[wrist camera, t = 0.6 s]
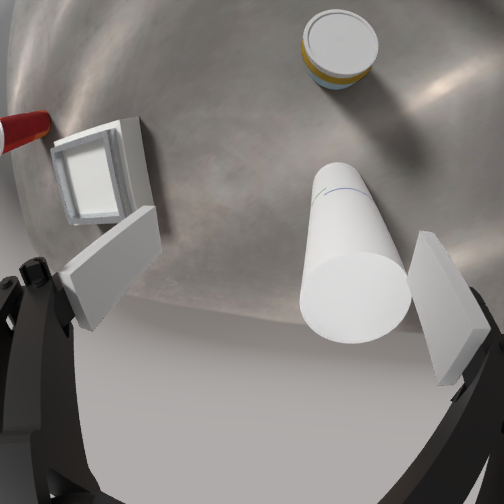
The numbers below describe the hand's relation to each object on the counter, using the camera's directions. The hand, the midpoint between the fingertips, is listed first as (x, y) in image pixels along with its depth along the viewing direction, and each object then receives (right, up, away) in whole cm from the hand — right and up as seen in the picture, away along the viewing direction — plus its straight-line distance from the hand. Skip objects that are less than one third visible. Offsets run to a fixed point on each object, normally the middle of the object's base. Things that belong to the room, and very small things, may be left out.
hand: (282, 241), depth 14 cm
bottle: (+9, +23, +17) cm, 30 cm away
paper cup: (-44, +26, +29) cm, 58 cm away
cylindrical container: (+10, +8, +25) cm, 28 cm away
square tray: (-26, +14, +31) cm, 43 cm away
